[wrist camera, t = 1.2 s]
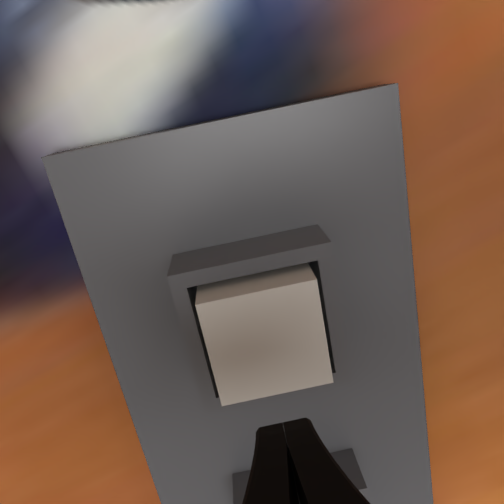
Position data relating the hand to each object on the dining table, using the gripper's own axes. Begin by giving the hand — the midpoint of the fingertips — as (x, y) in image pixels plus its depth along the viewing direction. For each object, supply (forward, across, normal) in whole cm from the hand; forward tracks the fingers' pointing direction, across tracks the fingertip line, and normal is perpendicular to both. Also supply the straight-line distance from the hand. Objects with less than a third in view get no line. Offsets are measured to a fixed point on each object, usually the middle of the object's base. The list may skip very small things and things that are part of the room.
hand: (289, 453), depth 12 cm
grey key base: (+10, 0, +6) cm, 12 cm away
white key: (+7, 0, 0) cm, 7 cm away
